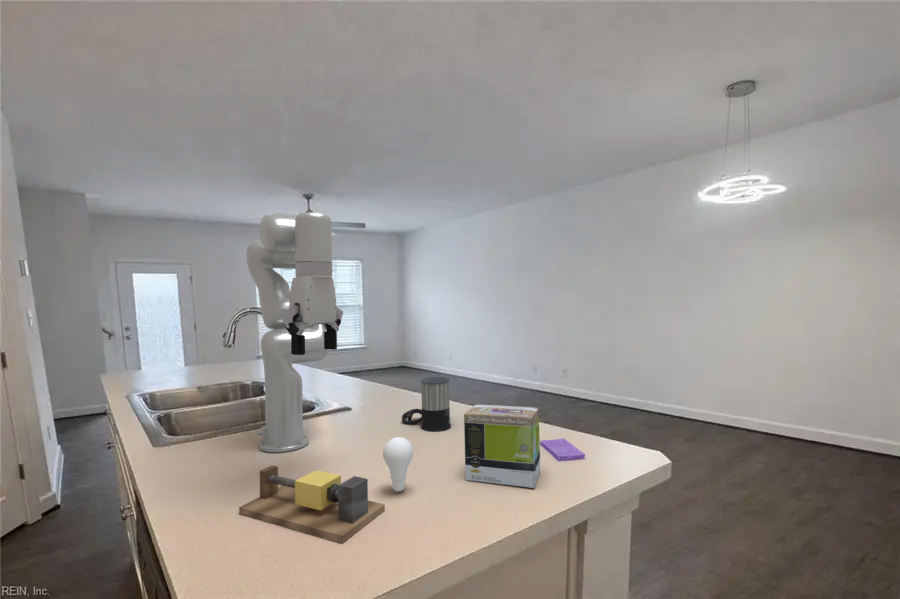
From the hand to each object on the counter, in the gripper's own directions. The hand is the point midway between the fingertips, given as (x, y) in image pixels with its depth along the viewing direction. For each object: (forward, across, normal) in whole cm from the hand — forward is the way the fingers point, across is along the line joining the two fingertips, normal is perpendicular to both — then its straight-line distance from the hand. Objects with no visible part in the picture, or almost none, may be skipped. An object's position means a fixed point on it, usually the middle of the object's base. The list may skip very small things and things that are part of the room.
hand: (315, 351), depth 94 cm
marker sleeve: (+26, +10, +10) cm, 29 cm away
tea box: (+28, -20, +35) cm, 49 cm away
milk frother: (+29, -48, 0) cm, 56 cm away
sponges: (+29, -41, +44) cm, 66 cm away
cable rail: (+28, +10, +8) cm, 31 cm away
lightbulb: (+28, -4, +18) cm, 34 cm away
